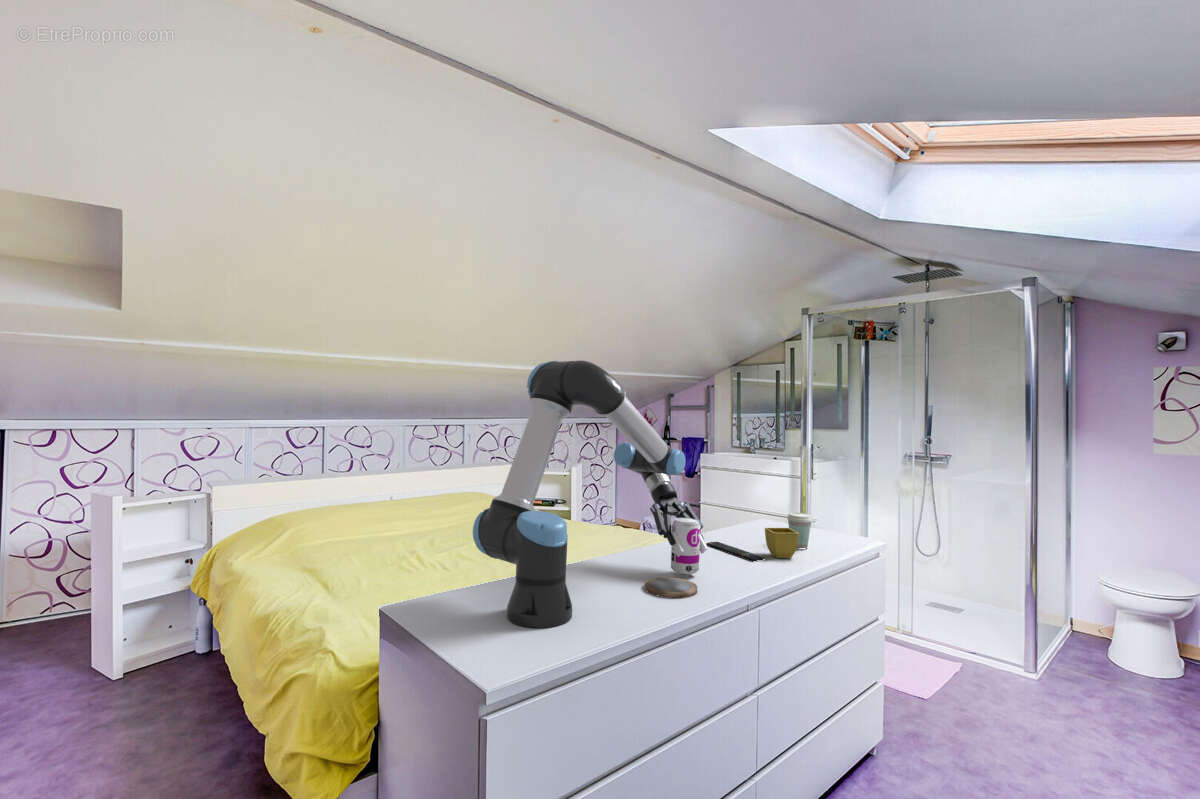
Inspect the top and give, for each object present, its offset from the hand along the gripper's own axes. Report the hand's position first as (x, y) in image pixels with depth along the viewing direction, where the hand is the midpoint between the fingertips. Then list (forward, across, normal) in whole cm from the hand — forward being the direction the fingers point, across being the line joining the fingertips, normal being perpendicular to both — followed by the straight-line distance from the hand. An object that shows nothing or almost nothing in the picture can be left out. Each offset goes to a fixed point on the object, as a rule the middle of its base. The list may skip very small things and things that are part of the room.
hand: (692, 552), depth 167 cm
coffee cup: (-4, -60, -14) cm, 62 cm away
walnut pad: (+9, +12, -1) cm, 15 cm away
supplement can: (+2, 0, -7) cm, 7 cm away
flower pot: (+1, -44, -10) cm, 45 cm away
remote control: (-7, -33, -18) cm, 38 cm away
